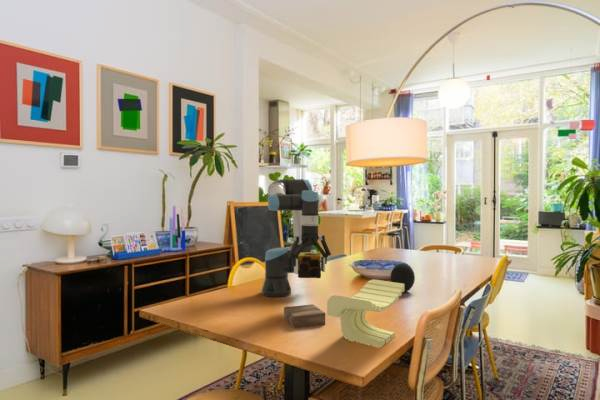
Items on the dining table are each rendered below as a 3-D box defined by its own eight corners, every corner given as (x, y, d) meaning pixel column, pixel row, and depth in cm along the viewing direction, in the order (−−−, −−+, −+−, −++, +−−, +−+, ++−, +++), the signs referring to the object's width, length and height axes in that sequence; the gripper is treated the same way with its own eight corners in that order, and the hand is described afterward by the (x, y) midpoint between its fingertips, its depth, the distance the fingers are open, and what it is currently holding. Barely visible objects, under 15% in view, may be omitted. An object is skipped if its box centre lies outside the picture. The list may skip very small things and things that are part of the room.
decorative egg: (390, 288, 218) (390, 261, 217) (413, 289, 215) (413, 261, 215) (390, 294, 205) (390, 265, 205) (415, 295, 203) (415, 266, 203)
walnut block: (284, 319, 166) (284, 307, 165) (313, 315, 170) (313, 304, 170) (294, 329, 153) (294, 316, 153) (325, 325, 158) (325, 313, 158)
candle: (320, 278, 174) (320, 255, 173) (297, 278, 174) (297, 255, 174) (321, 273, 184) (321, 252, 184) (299, 273, 185) (299, 251, 184)
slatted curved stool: (366, 322, 161) (366, 278, 161) (404, 330, 152) (404, 283, 151) (326, 345, 137) (327, 293, 136) (369, 356, 127) (369, 301, 127)
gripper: (287, 226, 170) (286, 276, 170) (338, 224, 179) (338, 271, 180) (281, 224, 177) (280, 272, 177) (330, 223, 186) (330, 268, 187)
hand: (309, 272), depth 179 cm, fingers closed on candle, 13 cm apart
